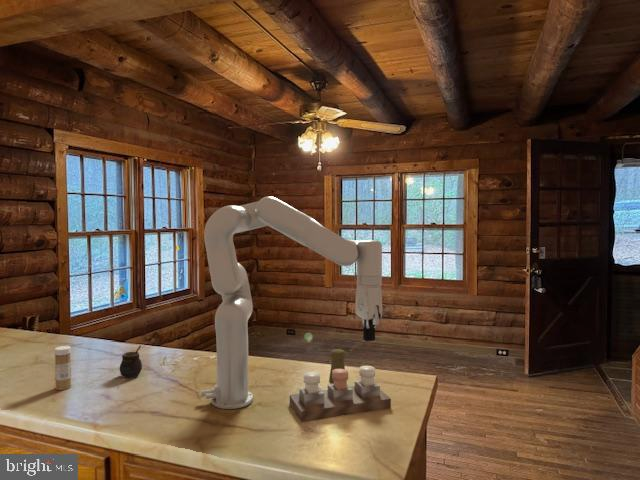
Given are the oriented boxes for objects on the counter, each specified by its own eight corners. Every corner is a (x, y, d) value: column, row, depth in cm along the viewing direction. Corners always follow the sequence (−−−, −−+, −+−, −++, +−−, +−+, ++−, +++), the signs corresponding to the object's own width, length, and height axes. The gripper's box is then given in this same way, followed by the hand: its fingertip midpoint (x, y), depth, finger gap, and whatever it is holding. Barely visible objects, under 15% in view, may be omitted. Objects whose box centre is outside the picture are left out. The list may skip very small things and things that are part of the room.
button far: (363, 387, 129) (363, 371, 129) (356, 382, 133) (357, 366, 133) (377, 386, 130) (378, 370, 130) (370, 380, 135) (370, 365, 135)
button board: (301, 422, 119) (301, 401, 118) (289, 404, 130) (289, 385, 130) (390, 408, 128) (391, 388, 128) (372, 392, 139) (372, 374, 139)
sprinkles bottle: (72, 384, 143) (71, 344, 143) (69, 389, 139) (69, 348, 138) (56, 386, 142) (56, 346, 141) (53, 391, 137) (52, 350, 137)
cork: (345, 385, 146) (345, 353, 145) (327, 383, 147) (327, 351, 146) (347, 378, 152) (347, 347, 151) (330, 377, 153) (331, 346, 152)
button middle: (335, 391, 126) (335, 375, 125) (329, 385, 130) (329, 369, 130) (350, 389, 127) (350, 373, 127) (344, 383, 132) (344, 368, 132)
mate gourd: (114, 377, 150) (114, 349, 149) (131, 370, 157) (131, 343, 156) (130, 381, 147) (130, 352, 146) (146, 373, 154) (146, 346, 153)
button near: (306, 395, 123) (306, 378, 122) (301, 389, 127) (301, 373, 127) (322, 393, 124) (322, 376, 124) (316, 387, 129) (316, 371, 129)
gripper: (348, 278, 136) (348, 335, 137) (369, 285, 122) (368, 348, 123) (369, 276, 138) (369, 333, 139) (392, 283, 124) (392, 345, 125)
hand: (369, 340), depth 131 cm, fingers closed
